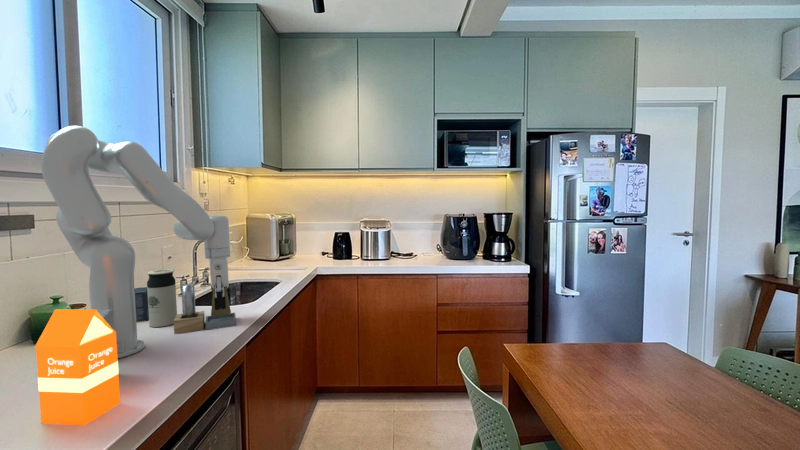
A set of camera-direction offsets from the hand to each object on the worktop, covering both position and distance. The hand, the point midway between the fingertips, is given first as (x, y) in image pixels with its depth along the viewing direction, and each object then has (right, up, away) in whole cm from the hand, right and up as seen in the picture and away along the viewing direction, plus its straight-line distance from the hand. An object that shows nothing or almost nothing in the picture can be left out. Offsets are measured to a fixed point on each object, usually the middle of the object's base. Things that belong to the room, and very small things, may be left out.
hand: (220, 306), depth 123 cm
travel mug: (-20, -6, +1) cm, 21 cm away
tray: (0, -6, 0) cm, 6 cm away
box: (-32, -6, +8) cm, 33 cm away
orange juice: (-1, -9, -53) cm, 53 cm away
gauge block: (-8, -6, -4) cm, 11 cm away
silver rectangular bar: (-8, -6, -4) cm, 11 cm away
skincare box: (-8, -8, -41) cm, 43 cm away
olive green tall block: (0, -2, 0) cm, 2 cm away
